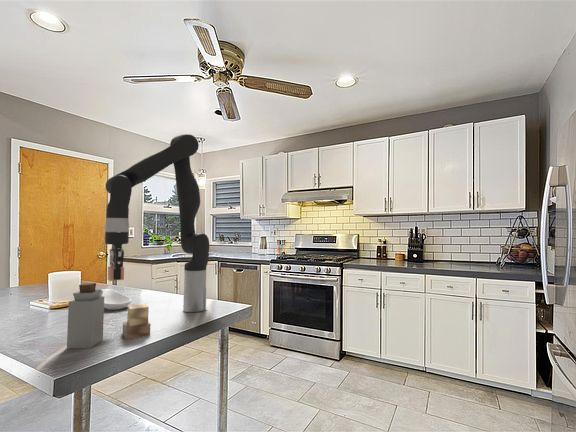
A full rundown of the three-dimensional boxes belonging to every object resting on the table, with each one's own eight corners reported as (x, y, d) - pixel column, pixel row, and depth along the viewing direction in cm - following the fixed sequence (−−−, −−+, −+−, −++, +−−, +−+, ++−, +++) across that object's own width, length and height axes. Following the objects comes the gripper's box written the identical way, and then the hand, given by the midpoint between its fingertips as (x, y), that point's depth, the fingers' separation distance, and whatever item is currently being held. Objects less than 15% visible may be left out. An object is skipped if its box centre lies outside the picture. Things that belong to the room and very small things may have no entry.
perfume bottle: (80, 340, 97) (82, 282, 98) (102, 339, 98) (104, 282, 98) (66, 348, 90) (69, 286, 91) (91, 347, 91) (93, 286, 92)
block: (121, 278, 114) (121, 265, 115) (123, 279, 111) (124, 267, 111) (107, 279, 112) (107, 266, 112) (109, 280, 108) (109, 268, 108)
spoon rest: (136, 308, 137) (136, 292, 137) (108, 314, 127) (108, 296, 128) (111, 300, 151) (112, 285, 151) (84, 304, 141) (85, 289, 142)
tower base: (145, 330, 108) (145, 318, 108) (150, 336, 102) (150, 323, 102) (122, 334, 103) (123, 322, 104) (126, 340, 98) (126, 327, 98)
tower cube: (145, 319, 107) (145, 303, 107) (148, 323, 102) (148, 306, 103) (127, 322, 104) (127, 305, 104) (129, 326, 99) (130, 309, 100)
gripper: (102, 230, 115) (100, 276, 115) (108, 231, 104) (106, 282, 103) (124, 230, 120) (123, 275, 119) (132, 231, 108) (131, 280, 108)
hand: (115, 278), depth 111 cm, fingers closed on block, 4 cm apart
